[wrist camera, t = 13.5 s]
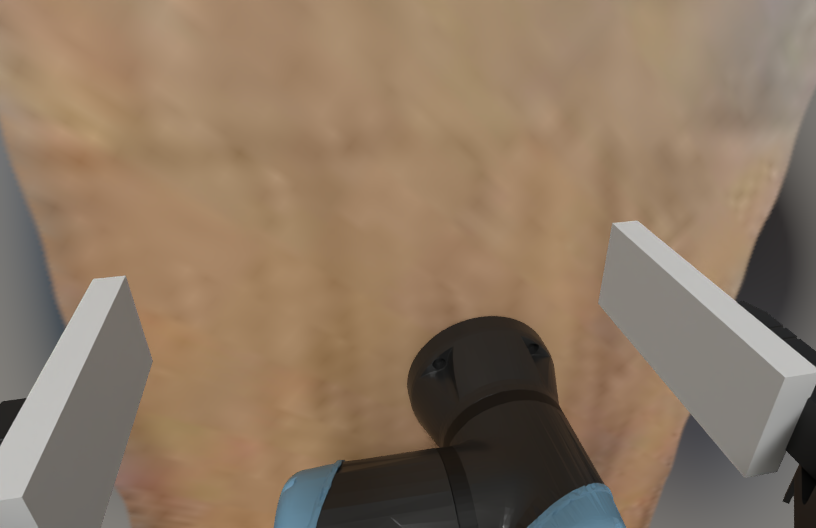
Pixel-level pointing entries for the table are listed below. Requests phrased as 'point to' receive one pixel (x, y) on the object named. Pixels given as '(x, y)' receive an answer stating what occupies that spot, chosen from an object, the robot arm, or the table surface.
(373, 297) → the table surface
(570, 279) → the table surface
